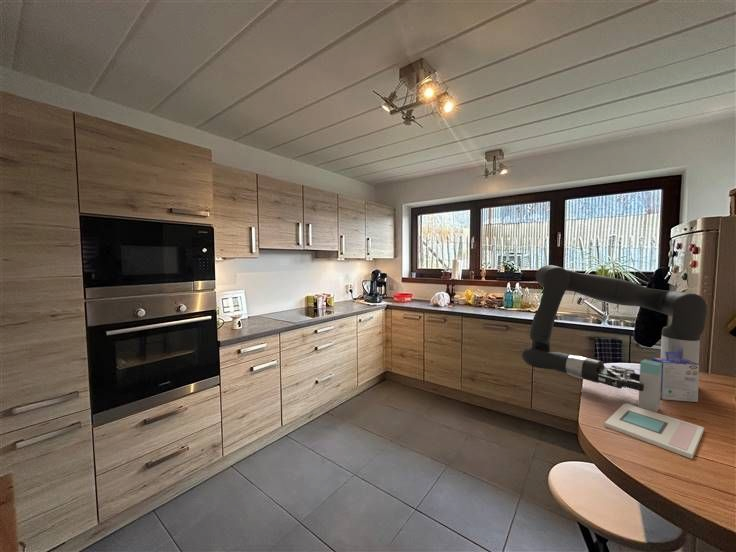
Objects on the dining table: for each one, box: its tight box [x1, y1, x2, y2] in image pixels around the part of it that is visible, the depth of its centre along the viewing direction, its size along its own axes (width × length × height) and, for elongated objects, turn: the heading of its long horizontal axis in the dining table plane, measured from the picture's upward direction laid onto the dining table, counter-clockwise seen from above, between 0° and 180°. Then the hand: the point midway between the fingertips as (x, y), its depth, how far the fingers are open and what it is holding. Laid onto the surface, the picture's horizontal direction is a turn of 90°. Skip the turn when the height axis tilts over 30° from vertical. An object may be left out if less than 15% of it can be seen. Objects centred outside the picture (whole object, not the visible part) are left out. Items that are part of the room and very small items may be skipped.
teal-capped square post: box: [637, 358, 662, 413], centre depth 88 cm, size 4×4×14 cm
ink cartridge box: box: [651, 352, 700, 403], centre depth 94 cm, size 10×6×14 cm, turn 78°
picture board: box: [604, 402, 705, 459], centre depth 78 cm, size 18×16×1 cm
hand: (647, 384), depth 89 cm, fingers open, 8 cm apart
